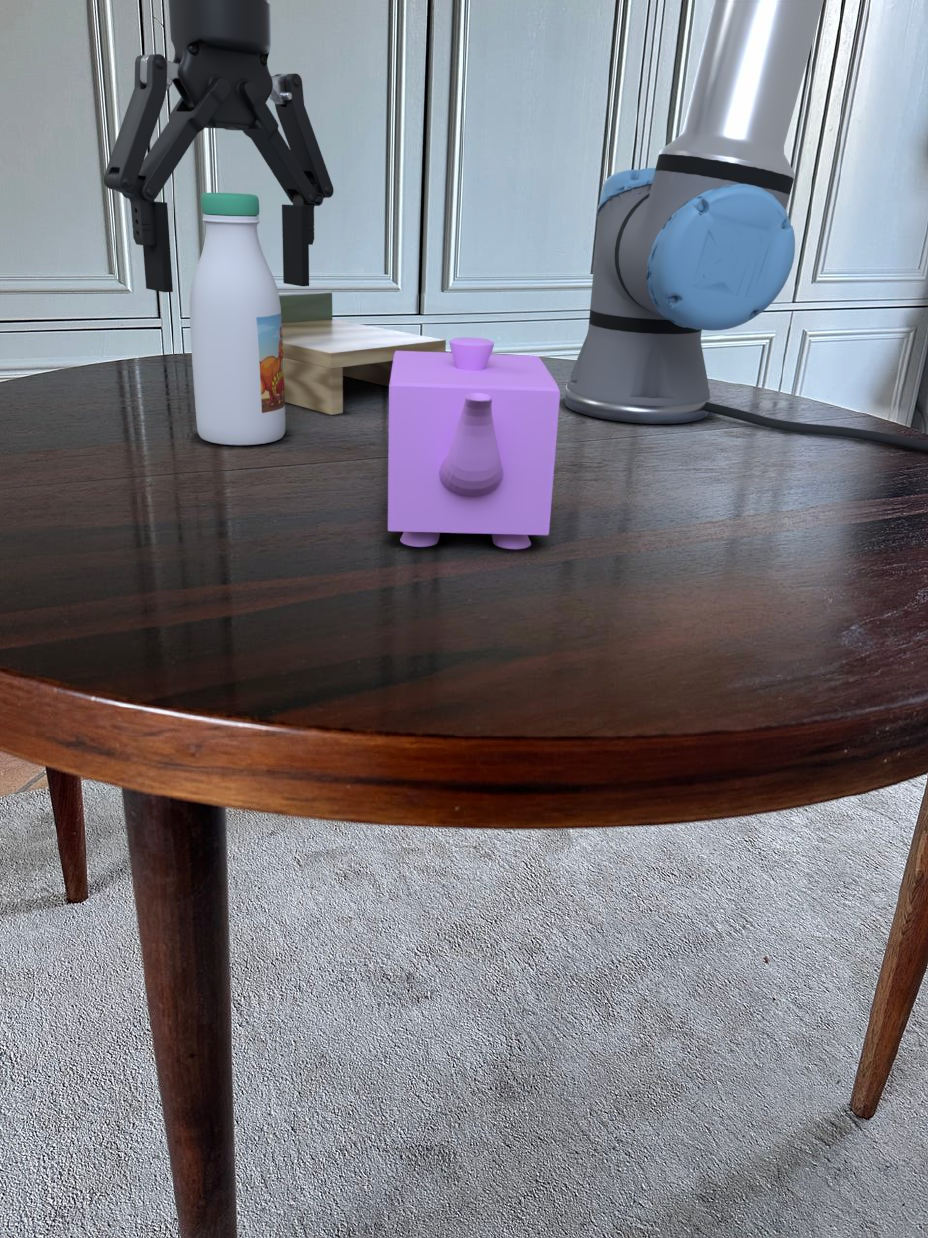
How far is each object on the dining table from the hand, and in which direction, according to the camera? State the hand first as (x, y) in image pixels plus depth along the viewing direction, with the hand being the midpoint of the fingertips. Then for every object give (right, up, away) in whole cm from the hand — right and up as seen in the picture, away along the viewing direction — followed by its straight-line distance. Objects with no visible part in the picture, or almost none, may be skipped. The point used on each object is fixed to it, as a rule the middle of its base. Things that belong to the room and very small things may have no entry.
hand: (231, 287), depth 83 cm
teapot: (+20, -22, -16) cm, 34 cm away
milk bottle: (0, -12, +5) cm, 13 cm away
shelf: (+5, -2, +26) cm, 27 cm away
